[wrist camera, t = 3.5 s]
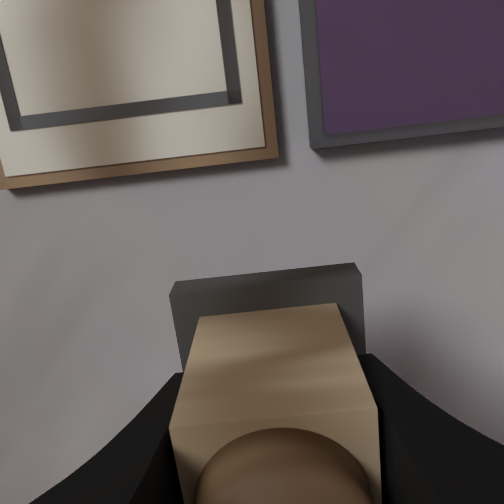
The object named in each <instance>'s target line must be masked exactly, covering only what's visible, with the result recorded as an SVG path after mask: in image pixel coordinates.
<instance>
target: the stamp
mask: <svg viewBox="0 0 504 504" xmlns="http://www.w3.org/2000/svg"><path fill="white" fill-rule="evenodd" d="M169 298H170V303H171V309H172V314H173V320H174V325H175V331H176V336H177V342H178V347H179V352H180V358H181V363H182V369H183V372H184V375H183V378H182V382H181V386H180V389H179V393H178V396H177V400H176V404H175V407H174V411H173V414H172V418H171V422H170V425H169V431H170V436H171V441H172V446H173V451H174V456H175V461H176V466H177V471H178V476H179V481H180V486H181V491H182V496H183V501H184V504H382V494H381V473H380V452H379V430H378V409H377V406H376V403H375V401H374V398H373V396H372V393H371V391H370V388H369V386H368V383H367V380H366V378H365V375H364V373H363V370H362V368H361V365H360V363H359V360H358V358H357V355H361V354H366V346H365V328H364V309H363V290H362V275H361V273H360V271H359V270H358V268H357V266H356V265H355V263H344V264H335V265H326V266H316V267H307V268H298V269H288V270H279V271H270V272H260V273H251V274H242V275H232V276H223V277H214V278H204V279H195V280H186V281H176V282H175V284H174V286H173V288H172V290H171V292H170V294H169Z"/></svg>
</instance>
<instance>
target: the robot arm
mask: <svg viewBox="0 0 504 504" xmlns="http://www.w3.org/2000/svg"><path fill="white" fill-rule="evenodd" d="M357 358H358V360H359V363H360V365H361V368H362V370H363V373H364V375H365V378H366V380H367V383H368V386H369V388H370V391H371V393H372V396H373V398H374V401H375V403H376V406H377V409H378V430H379V452H380V473H381V494H382V504H504V445H502V444H500V443H498V442H496V441H494V440H492V439H490V438H488V437H487V436H485V435H483V434H481V433H479V432H478V431H476V430H474V429H472V428H471V427H469V426H467V425H465V424H464V423H462V422H460V421H459V420H457V419H456V418H454V417H452V416H451V415H449V414H448V413H446V412H445V411H443V410H442V409H440V408H439V407H438V406H436V405H435V404H433V403H432V402H430V401H429V400H428V399H426V398H425V397H423V396H422V395H421V394H419V393H418V392H417V391H416V390H414V389H413V388H412V387H410V386H409V385H408V384H407V383H406V382H404V381H403V380H402V379H401V378H400V377H398V376H397V375H396V374H395V373H394V372H392V371H391V370H390V369H389V368H388V367H387V366H385V365H384V364H383V363H382V362H381V361H380V360H379V359H377V358H376V357H375V356H374V355H373V354H361V355H357ZM183 375H184V372H182V373H175V374H174V375H173V376H172V377H171V378H170V379H169V380H168V382H167V383H166V384H165V385H164V386H163V387H162V388H161V389H160V391H159V392H158V393H157V394H156V395H155V396H154V397H153V398H152V399H151V401H150V402H149V403H148V404H147V405H146V406H145V407H144V408H143V409H142V410H141V411H140V412H139V413H138V415H137V416H136V417H135V418H134V419H133V420H132V421H131V422H130V423H129V424H128V425H127V426H126V427H124V428H123V429H122V430H121V431H120V432H119V433H118V434H117V435H116V436H115V437H114V438H113V439H112V440H111V441H110V442H109V443H108V444H107V445H106V446H105V447H104V448H102V449H101V450H100V451H99V452H98V453H97V454H96V455H94V456H93V457H92V458H91V459H90V460H88V461H87V462H86V463H85V464H83V465H82V466H81V467H80V468H78V469H77V470H76V471H75V472H73V473H72V474H71V475H69V476H68V477H67V478H65V479H64V480H63V481H61V482H60V483H58V484H57V485H55V486H54V487H52V488H51V489H50V490H48V491H47V492H45V493H44V494H42V495H41V496H39V497H38V498H36V499H35V500H34V501H32V502H31V503H29V504H184V501H183V496H182V491H181V486H180V481H179V476H178V471H177V466H176V461H175V456H174V451H173V446H172V441H171V436H170V431H169V425H170V422H171V418H172V414H173V411H174V407H175V404H176V400H177V396H178V393H179V389H180V386H181V382H182V378H183Z"/></svg>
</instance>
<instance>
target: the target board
mask: <svg viewBox="0 0 504 504" xmlns="http://www.w3.org/2000/svg"><path fill="white" fill-rule="evenodd" d="M272 158H279V153H278V143H277V132H276V122H275V112H274V102H273V91H272V81H271V71H270V61H269V50H268V40H267V30H266V20H265V9H264V0H0V190H4V189H13V188H21V187H30V186H39V185H47V184H56V183H64V182H73V181H82V180H90V179H99V178H108V177H116V176H125V175H134V174H142V173H151V172H160V171H168V170H177V169H186V168H194V167H203V166H212V165H220V164H229V163H237V162H246V161H255V160H263V159H272Z"/></svg>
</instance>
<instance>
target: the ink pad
mask: <svg viewBox="0 0 504 504" xmlns="http://www.w3.org/2000/svg"><path fill="white" fill-rule="evenodd" d="M299 12H300V25H301V38H302V51H303V64H304V77H305V89H306V102H307V115H308V128H309V141H310V148H311V149H318V148H327V147H335V146H344V145H352V144H361V143H370V142H378V141H387V140H395V139H404V138H413V137H421V136H430V135H439V134H447V133H456V132H464V131H473V130H482V129H490V128H499V127H504V0H299Z"/></svg>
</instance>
